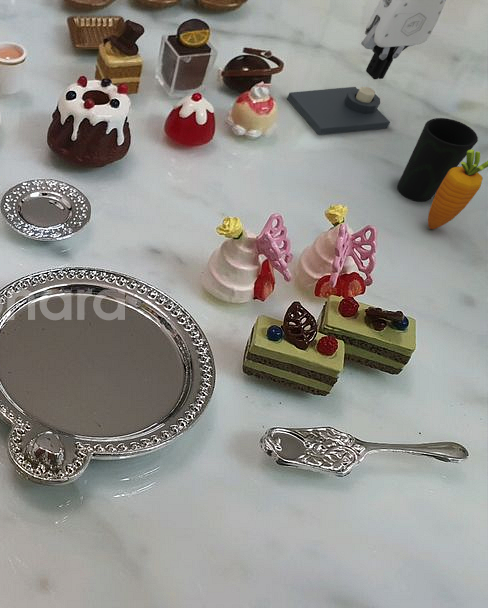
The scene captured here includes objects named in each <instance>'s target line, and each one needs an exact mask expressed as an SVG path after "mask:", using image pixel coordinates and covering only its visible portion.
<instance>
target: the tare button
mask: <svg viewBox="0 0 488 608" xmlns="http://www.w3.org/2000/svg"><path fill="white" fill-rule="evenodd" d="M358 89H359V91H358V93H357V95H356V99H357V100H359V101H361V102H365V103H370V102H371V101H372V99H373V97H374V95H375V94H376V90H375V89H374V88H371V87H369V86H361V87H360V88H358Z"/></svg>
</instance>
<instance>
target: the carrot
mask: <svg viewBox="0 0 488 608" xmlns="http://www.w3.org/2000/svg"><path fill="white" fill-rule="evenodd" d="M465 158H466V161H461V163H460V165H461V166H457V167H454V168H451V169H450V170H449V171H448V173H447V174H446V176H445V178H444V179H443V181H442V183H441V185H440V186H439V188H438V190H437V192H436V193H435V195H434V196H433V198H432V199H433V200H432V202H431V205H430V208H429V210H428V216H427V227H428V228H429V230H436V229H439V228H441V227H442V226H444V225H446V224H448V223H449V222H451V221H452V220H453V219H455V217H457V216H459V214H460V213H461V212H462V211H463V210H464V209H465V208H466V207H467V205H468V204H469V203H470V202H471V201H472V199H473V198H474V197H475V196H476V194H477V193H478V191H480V189H481V186H482V182H483V180H484V179H483V175H482V174H480V172H481V171H483V170H484V169H487V168H488V160H487V161H484V162H483V163H482V164H481V165H479V164H480V162H481V152H480V151H477V150H476V151H475V149H473V148H472V149H471V150H468V151H467V155H466V156H465Z"/></svg>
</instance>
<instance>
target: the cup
mask: <svg viewBox="0 0 488 608" xmlns="http://www.w3.org/2000/svg"><path fill="white" fill-rule="evenodd" d="M478 141H479V137H478V134H477V133H476V131H475V130H474V129H472V128H471V126H469V125H467V124H465V123H463V122H461V121H458V120H456V119H452V118H446V117H436V118H431V119H429V120H427V121H426V122H425V124H424V126H423V128H422V131H421V133H420V135H419V137H418V140H417V141H416V144H415V146H414V148H413V150H412V153H411V155H410V157H409V158H408V161H407V163H406V166H405V168H404V170H403V172H402V174H401V177H400V178H399V181H398V182H397V185H396V187H397V191H398V193H400V194H401V195H402V196H403V197H405V198H406V199H408V200H411V201H414V202H419V203H425V202H429V201H431V200H432V199H433V198H434V197H435V194H436V192H437V190H438V188H439V186H440V185H441V183H442V181H443V179H444V178H445V176H446V174H447V173H448V171H449V170H450V169H451V168H454V167H459V165H461V162H463V160H464V159H465V158H466V156H467V151H468V150H471V149H473V148H474V147H475V146H476V144H477V143H478Z"/></svg>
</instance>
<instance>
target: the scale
mask: <svg viewBox="0 0 488 608" xmlns="http://www.w3.org/2000/svg"><path fill="white" fill-rule="evenodd" d="M359 89H360V88H357V87H356V86H349V87H348V86H347V87H337V88H325V89H315V90H313V89H312V90H303V91H292V92H291V91H290V92H289V93H288V95H287V97H286V99H287V101H288V103H290V105H292V106H293V108H294V109H295V110H296V111H297V112H298V114H300V116H301V117H302V118H303V119H304V120H305V122H306V123H307V124H309V126H310V127H311V128H312V129H313V130H314V132H315V133H316V134H317V135H318V136H322V135H323V136H324V135H334V134H341V133H352V132H353V133H354V132H364V131H372V130H381V129H388V127H389V126H390V123H391V121H390V120H389V119H388V118H387V117H386V116H385V115H384V114H383V113H382V112H381V111H380V109H378V108H379V107H380V104H381V98H380V97H379V96H378V95H377V94H376V93H375V95H374V97H373V99H372V101H371V102H370V103H365V102H361V101H359V100H357V99H356V95H357V93H358V91H359Z"/></svg>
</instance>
